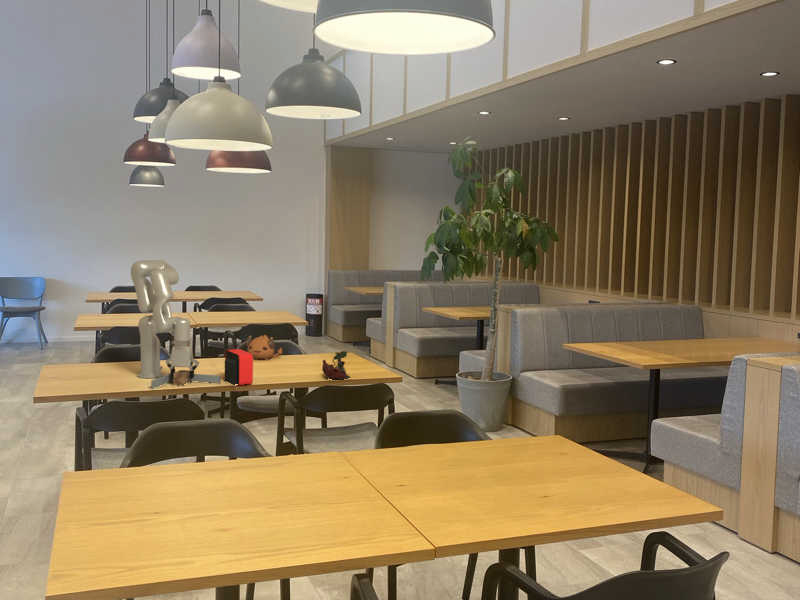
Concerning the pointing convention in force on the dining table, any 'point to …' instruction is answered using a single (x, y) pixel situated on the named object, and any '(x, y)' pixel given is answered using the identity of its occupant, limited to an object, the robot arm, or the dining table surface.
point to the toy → (262, 347)
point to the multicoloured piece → (336, 368)
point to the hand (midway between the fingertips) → (182, 377)
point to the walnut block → (181, 377)
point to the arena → (196, 377)
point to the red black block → (238, 367)
